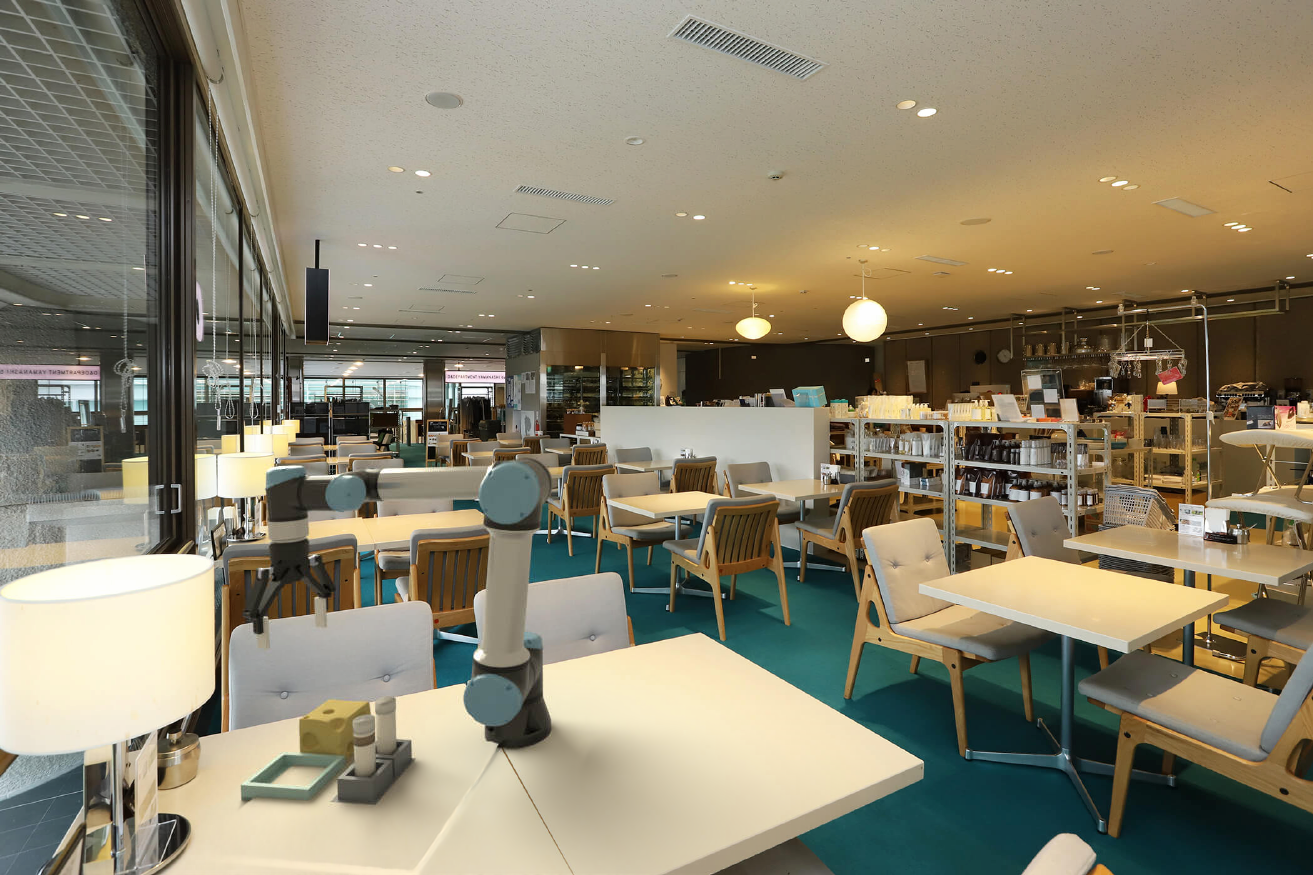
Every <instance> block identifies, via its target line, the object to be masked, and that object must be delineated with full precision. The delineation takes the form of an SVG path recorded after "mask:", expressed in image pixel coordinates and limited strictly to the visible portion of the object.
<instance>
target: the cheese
mask: <svg viewBox="0 0 1313 875" xmlns="http://www.w3.org/2000/svg"><path fill="white" fill-rule="evenodd" d="M362 715H372V713H371V705H370V701H366V700H359V701H358V700H357V701H356V700H354V701H353V700H340V699H334V698H333V699H331V698H330V699H328V700H326V701H325V702H324V703H322V704H321V705H318V706H317V707H316V708H315V709H313V710H312V711H310V712H309V713H307V714H306V715H304V716H302V717H300V718H299V721H298V722H299V723H298V725H299V726H298V732H299V753H311V754H327V755H342V756H345V762H346V761H347V760H348V759H349V758H350V757H351V756H352V755H354V741H353V734H354V733H353V720H354V719H355V718H357V717H359V716H362Z"/></svg>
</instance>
